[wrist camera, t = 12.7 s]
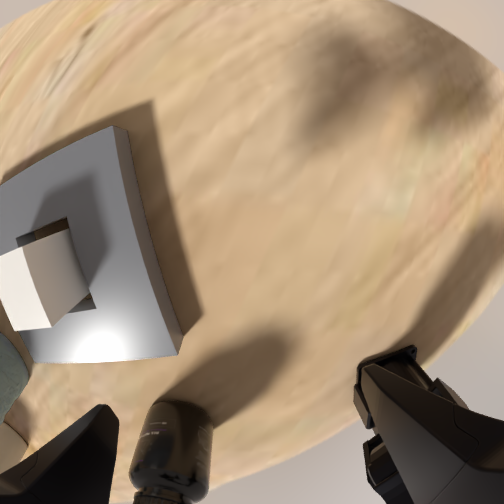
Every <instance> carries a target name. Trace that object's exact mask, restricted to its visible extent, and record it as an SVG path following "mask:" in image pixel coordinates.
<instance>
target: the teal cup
mask: <svg viewBox="0 0 504 504" xmlns="http://www.w3.org/2000/svg"><path fill="white" fill-rule="evenodd" d="M28 380H29V375H28V371H27V368H26V366H25V363H24V361H23V359H22V358H21V356H20V354H19V353H18V351H17V350H16V348H15V347H14V346H13V344H12V343H11V342H10V341H9V340H8V339H7V338H6V337H5V336H4V335H3V334H2V333H1V332H0V425H1V424H2V422H3V421H4V417H5V414H7V412H8V411H9V410H10V408H11V406H12V405H13V403H14V401H15V400H16V399H17V398H18V397H19V396H20V394H21V393H22V391H23V389H24V388H25V386H26V385H27V383H28Z"/></svg>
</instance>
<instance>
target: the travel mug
mask: <svg viewBox="0 0 504 504" xmlns="http://www.w3.org/2000/svg"><path fill="white" fill-rule="evenodd" d="M27 448H28V447H27V445H26V443H25V441H24V440H23V439H22V437H21V436H20V435H19V434H18V433H17V432H16V431H15V430H14V429H13V428H11V427H10V426H9V425H7V424H6V423H5V422H2V424H1V425H0V474H1V473H3V472H4V471H6V470H8V469H10V468H11V467H13V466H15V465H17V464H18V463H19V462H20V461H21V459H22V457H23V455H24V453H25V452H26V450H27Z"/></svg>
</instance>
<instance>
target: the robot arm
mask: <svg viewBox="0 0 504 504" xmlns="http://www.w3.org/2000/svg"><path fill="white" fill-rule="evenodd" d="M416 353H417V348H416V347H415V346H414V345H411V346H409V347H406V348H404V349H401V350H399V351H396V352H394V353H391V354H388V355H386V356H383V357H380V358H377V359H375V360H372V361H369V362H366V363H363V364H360V365H359V366H358V367H357V382H356V384H355V386H354V400H353V402H354V404H355V406H356V408H357V410H358V413H359V415H360V417H361V419H362V421H363V423H364V425H365V427H366V429H371V428H372V429H373V431H374V433H375V436H374V437H373V438H372V439H370V440H369V441H366V442H365V443H363V450H364V458H365V465H366V473H367V480H368V483H369V484H370V485H371V486H372V488H373V489H374V490H375V491H376V492H377V493H378V494H379V495H381V497H382V498H383V499H384V501H385V502H386V504H504V421H502V420H499V419H495V418H491V417H488V416H485V415H482V414H479V413H476V412H474V411H471V410H469V408H468V407H467V405H466V404H465V402H464V401H463V400H462V399H461V398H460V397H459V396H458V395H457V394H456V392H455V391H454V390H452V389H451V388H450V387H449V386H448V385H446V384H445V383H444V382H443V381H441V380H440V379H439V378H436V380H435V381H434V382H433V381H432V380H431V379H430V378H429V376H428V375H427V374H426V373H425V371H424V370H423V369H422V368H421V367H420V366H419V364H418V363H417V362H416V361H415V360H416ZM361 369H362V370H361ZM118 433H119V420H118V418H117V416H116V415H115V414H114V412H113V411H112V409H111V408H110V407H109V406H108V405H106V404H98V405H96V406H95V407H94V408H93V409H91V410H90V411H89V412H87V413H86V414H85V415H84V416H82V417H81V418H80V419H78V420H77V421H76V422H74V423H73V424H72V425H71V426H69V427H68V428H67V429H65V430H64V431H63V432H61V433H60V434H59V435H57V436H56V437H55V438H53V439H52V440H51V441H49V442H48V443H47V444H45V445H44V446H43V447H41V448H40V449H39V450H37V451H36V452H35V453H33V454H32V455H30V456H29V457H28V458H26V459H25V460H23V461H21V462H20V463H18V464H17V465H15V466H13V467H11V468H10V469H8V470H6V471H4V472H3V473H1V474H0V504H109V498H110V491H111V484H112V478H113V472H114V467H115V461H116V454H117V443H118Z"/></svg>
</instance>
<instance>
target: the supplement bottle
mask: <svg viewBox="0 0 504 504" xmlns="http://www.w3.org/2000/svg"><path fill="white" fill-rule="evenodd" d="M212 440H213V423H212V421H211V419H210V417H209V416H208V415H207V414H206V413H205V412H204V411H202V410H201V409H199V408H198V407H196V406H194V405H191V404H188V403H185V402H181V401H162V402H159V403H156V404H155V405H153V406H152V407H151V408H150V409H149V411H148V413H147V416H146V419H145V421H144V425H143V428H142V431H141V434H140V437H139V440H138V443H137V446H136V449H135V452H134V456H133V459H132V462H131V465H130V469H129V478H130V481H131V483H132V484H133V486H134V487H135V488H136V489H137V490H138V492H135V495H134V502H133V504H194V503H197V502H199V501H201V500H203V499H204V498H205V497H206V495H207V494H208V490H209V478H210V465H211V452H212Z"/></svg>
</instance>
